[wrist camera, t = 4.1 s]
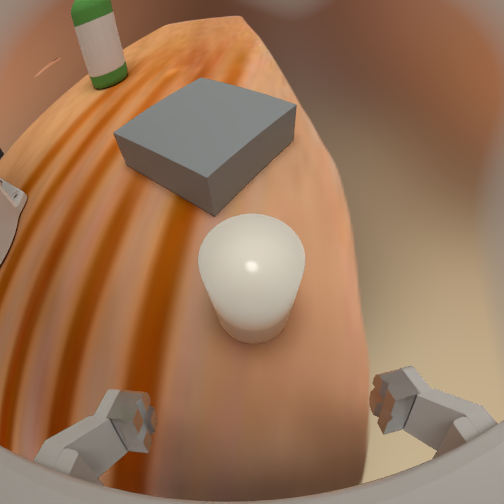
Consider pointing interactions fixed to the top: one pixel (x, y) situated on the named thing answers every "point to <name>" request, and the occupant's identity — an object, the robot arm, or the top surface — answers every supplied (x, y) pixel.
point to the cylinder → (252, 275)
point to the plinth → (207, 140)
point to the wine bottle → (99, 41)
